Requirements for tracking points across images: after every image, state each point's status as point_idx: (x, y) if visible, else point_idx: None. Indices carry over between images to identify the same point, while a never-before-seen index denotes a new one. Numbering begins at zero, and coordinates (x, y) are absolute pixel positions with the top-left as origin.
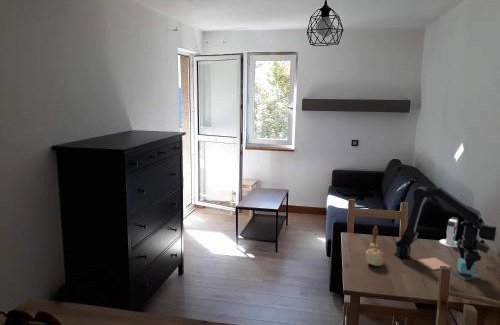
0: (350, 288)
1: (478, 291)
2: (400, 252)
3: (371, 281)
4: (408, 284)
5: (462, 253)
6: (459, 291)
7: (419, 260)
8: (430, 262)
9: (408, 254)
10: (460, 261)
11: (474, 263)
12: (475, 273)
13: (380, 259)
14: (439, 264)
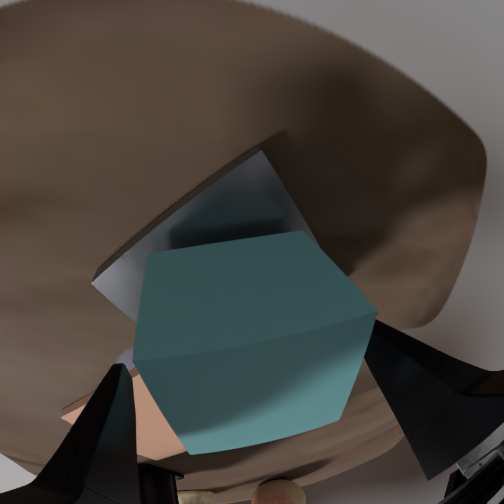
0: (392, 447)
1: (452, 215)
2: (177, 497)
3: (367, 451)
4: (384, 418)
5: (126, 484)
6: (444, 302)
7: (164, 457)
8: (154, 437)
9: (146, 479)
10: (290, 433)
11: (326, 325)
12: (201, 192)
13: (303, 497)
14: (151, 415)
